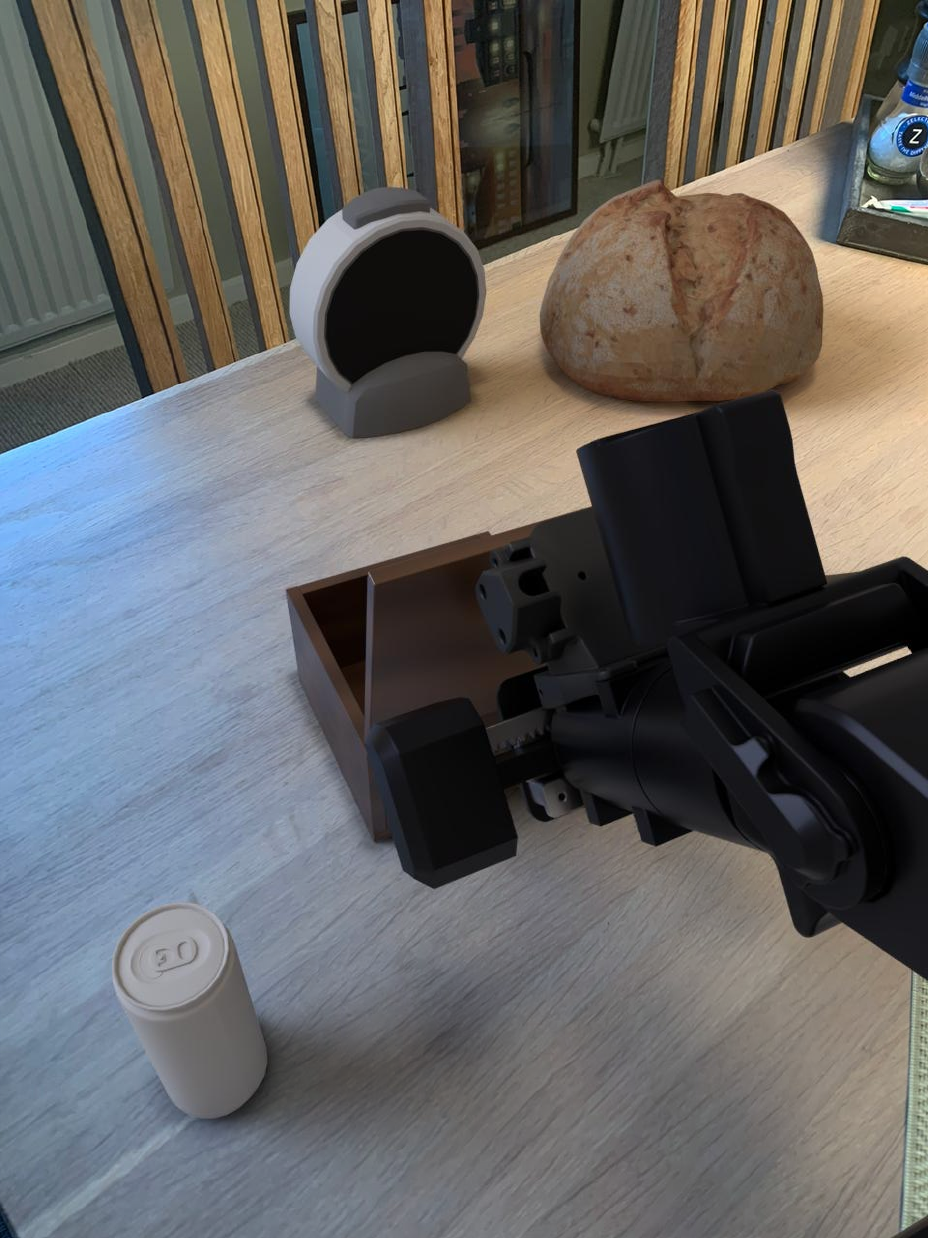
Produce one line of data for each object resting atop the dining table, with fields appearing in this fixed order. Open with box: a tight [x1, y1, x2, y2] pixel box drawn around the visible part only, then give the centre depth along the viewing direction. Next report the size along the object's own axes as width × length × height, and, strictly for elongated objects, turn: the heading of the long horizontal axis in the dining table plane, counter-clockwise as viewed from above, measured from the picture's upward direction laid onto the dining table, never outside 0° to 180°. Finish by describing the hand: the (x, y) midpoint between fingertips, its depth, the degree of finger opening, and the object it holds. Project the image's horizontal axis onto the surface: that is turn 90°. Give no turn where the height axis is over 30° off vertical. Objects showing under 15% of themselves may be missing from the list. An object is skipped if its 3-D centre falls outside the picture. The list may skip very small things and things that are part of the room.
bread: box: [538, 179, 824, 402], centre depth 91 cm, size 26×23×15 cm
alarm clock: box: [289, 186, 487, 439], centre depth 83 cm, size 16×10×18 cm, turn 121°
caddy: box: [285, 530, 520, 844], centre depth 60 cm, size 14×14×8 cm
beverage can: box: [111, 901, 268, 1120], centre depth 44 cm, size 5×5×12 cm
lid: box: [364, 505, 592, 742], centre depth 47 cm, size 14×14×1 cm
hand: (529, 717), depth 47 cm, fingers closed
